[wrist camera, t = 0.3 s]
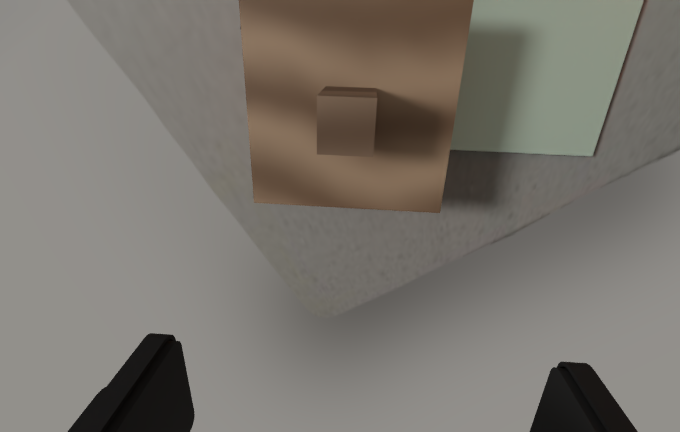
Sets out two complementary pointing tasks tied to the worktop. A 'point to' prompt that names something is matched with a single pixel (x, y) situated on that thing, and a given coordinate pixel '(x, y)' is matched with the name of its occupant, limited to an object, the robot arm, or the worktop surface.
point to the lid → (352, 99)
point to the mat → (541, 74)
